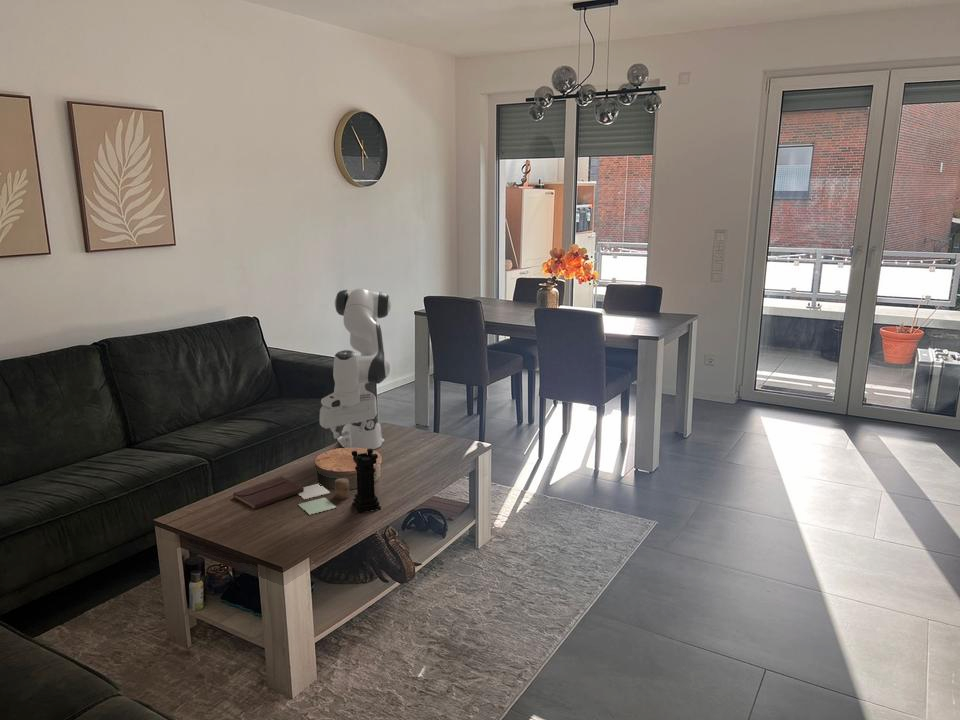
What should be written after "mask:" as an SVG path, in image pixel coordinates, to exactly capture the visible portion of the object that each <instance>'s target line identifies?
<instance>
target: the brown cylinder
mask: <svg viewBox="0 0 960 720" xmlns="http://www.w3.org/2000/svg"><path fill="white" fill-rule="evenodd" d="M334 494H335V495H334V496H335V497H334V498H336V499H337V500H345V499H349V498H350V479H348V478H344V477H343V478H341V477H340V478H337V479H335V480H334Z"/></svg>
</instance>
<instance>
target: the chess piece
mask: <svg viewBox="0 0 960 720" xmlns="http://www.w3.org/2000/svg"><path fill="white" fill-rule="evenodd" d="M378 455H379V454H378V453H374V449H372V448H371V449H367V451H366V452H363V453H358V451H357V450H351V456H352V458H353V459H352V460H353V462H354V463H355V464H356V466H354V469H355V472H356V487H357V488H356V490H357V491H356V494H354V498H353V502H351V505H352V506H353V508H354V507H355V508H354V509H355V510H357V511H356V513H357V514H363V513H362V512H364V513H367V512H366V511H369V512H372V511H371V510H374V511H377V510H376V509H379V510H381V509H382V508H381V506H380V502H379V499H378V496H377V495H376V494H375V493H376V492H375V473H376V469H375V466H374V465H377V464H378V463H377V459H378V458H379V456H378Z"/></svg>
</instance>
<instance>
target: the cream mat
mask: <svg viewBox="0 0 960 720" xmlns="http://www.w3.org/2000/svg"><path fill="white" fill-rule="evenodd" d="M319 484H320V483H315V484H311V485H307V486H302V487H303V488H304V491H303V492H300V493H298V494H297V495H298V496H299V497H300V496H301V497H300V498H302V500H304V501H305V499H306V500H309V498H310V499H314V498H317V497H322V496H325V495H329V494H331V491H329V490H328V489H327V488H326V487H324V486H323V485H322V486H320V485H321V484H320V485H319ZM321 495H322V496H321ZM313 497H314V498H313Z"/></svg>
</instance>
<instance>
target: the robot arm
mask: <svg viewBox="0 0 960 720" xmlns="http://www.w3.org/2000/svg"><path fill="white" fill-rule="evenodd" d="M391 306H392V305H391V299H390V296H389V295H388V294H387V293H386V292H382V291H379V292H378V291H374V290H367V289H364V288H355V289H352V290H348V289H342V290H340V291H338V292H337V294H336V296H335V298H334V308H335V312H336V313H337V314H338V315H340V316H343V326H344V327H345V330H346V331H347V332H348V333H349V334H350V336H349V344H350V346H351V348H352V349H353V350H349V349H345V350H340V351H338V352H336V353H335V354H334V358H333V365H332V378H333V380H334V381H333V382H334V387H333V389H334V390H333V392H332V393H330V394H328V395H326V396H324V397H323V398H321V400H320V404H321V405H322V406H321V407H320V409H319V425H320V426H321V427H322V428H323V429H330V431H331V432H332V433H333V438H334V439H337V441H338V442H339V444H340V445H341V447H342V448H343V447H361V448H368V449H371V448H372V449H373V450H377V449H379V448H380V447H381V446H382V445H383V444H384V443H385V438H383V437H382V436H383V435H382V427H381V423H378V422H379V415H378V413H377V409H378V408H377V398H376V396H375V394H374V393H372V392H371V391H368V390H367V389H366V388H365V387H366V384H374V385H376V384H377V385H379V384H380V383H382V382H384V381H385V379H387V378H388V377H389V375H390V372H391V364H390V362H389V361H388V359H387V358H386V357H385V350H384V342H383V341H384V340H383V333H382V327H381V325H380V323H379V322H378V319H382V318H386V317H387V316H388V315H389V313H390V311H391ZM355 351H357V352H359V353H360V355H357V353H356V352H355ZM341 426H343V427H342V430H341V435H340V432H338V431H336V430H337V427H341Z"/></svg>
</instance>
